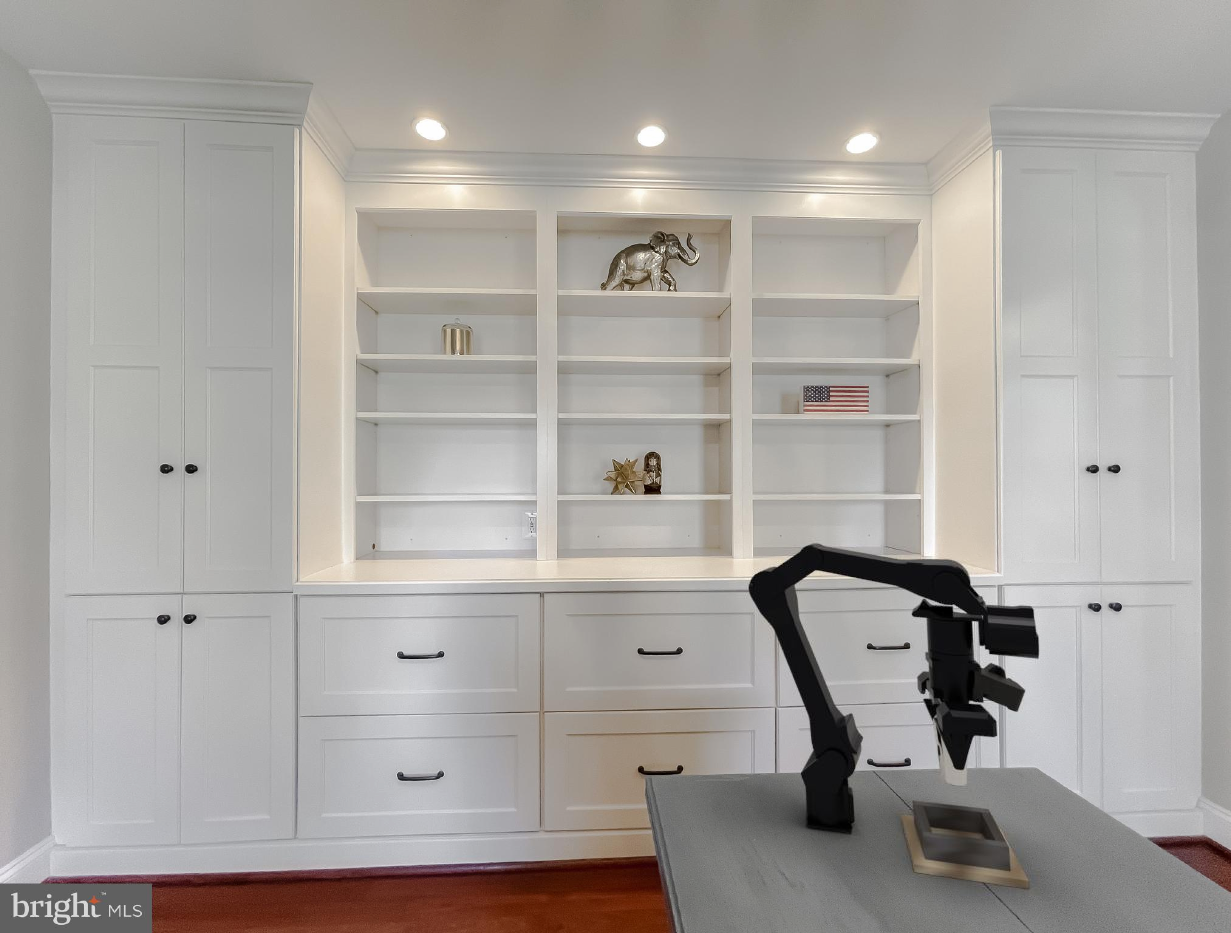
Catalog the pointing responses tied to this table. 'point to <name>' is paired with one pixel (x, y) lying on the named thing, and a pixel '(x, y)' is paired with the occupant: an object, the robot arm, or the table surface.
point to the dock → (960, 844)
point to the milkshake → (948, 763)
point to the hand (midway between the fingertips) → (955, 763)
